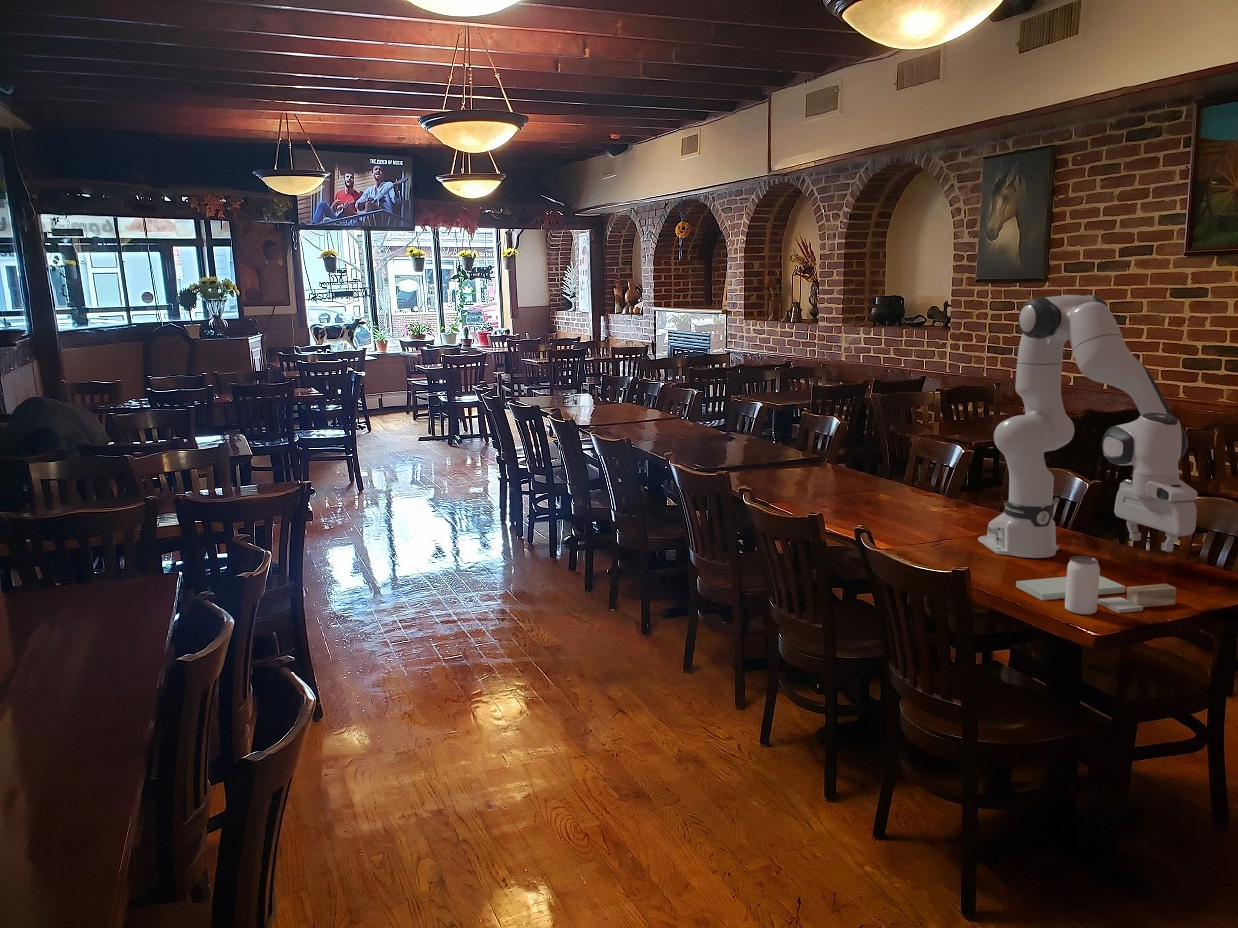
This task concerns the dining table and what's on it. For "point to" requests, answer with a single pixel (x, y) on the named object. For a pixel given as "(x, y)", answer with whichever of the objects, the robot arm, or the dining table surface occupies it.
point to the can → (1082, 585)
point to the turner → (1141, 598)
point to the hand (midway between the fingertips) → (1150, 545)
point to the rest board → (1063, 587)
